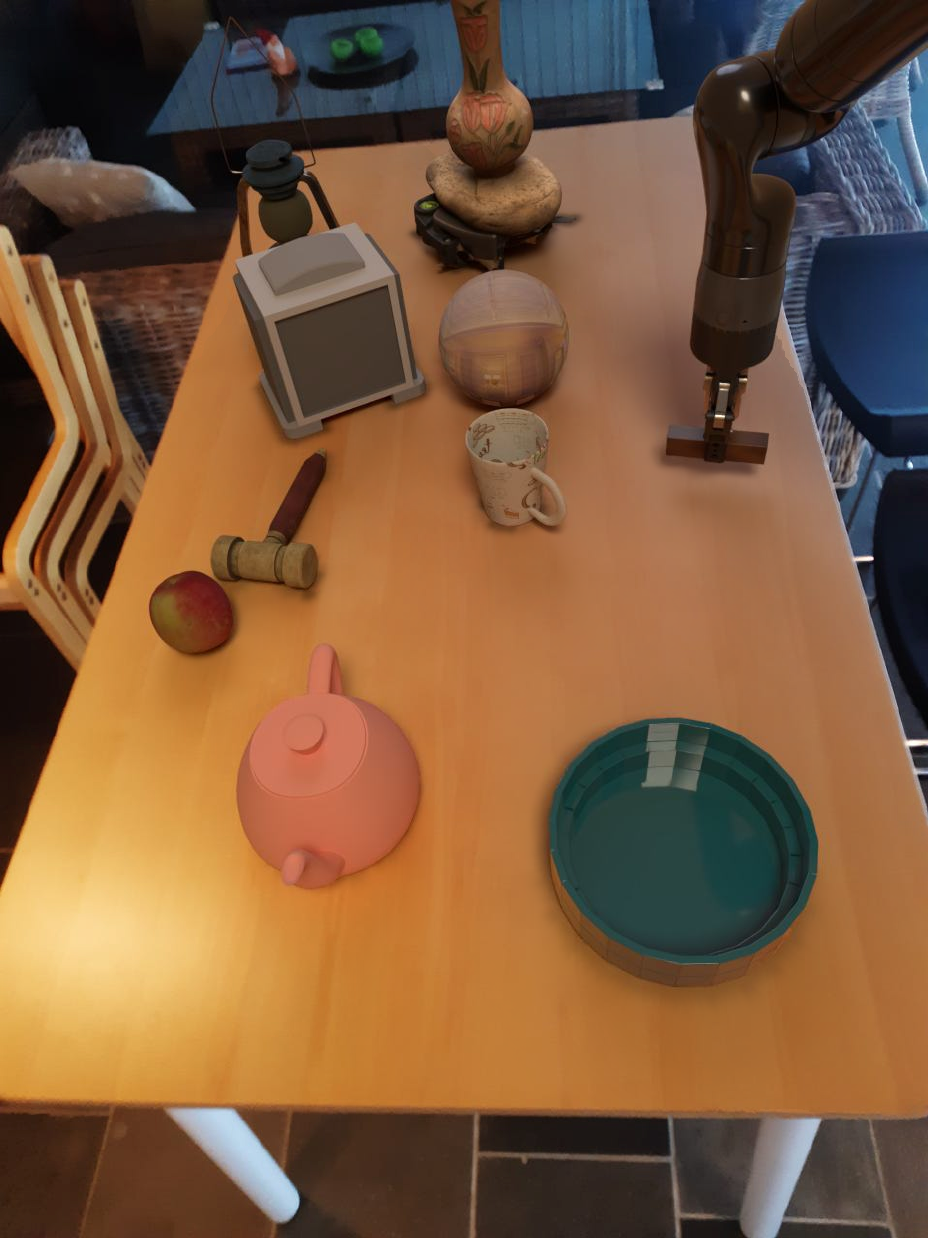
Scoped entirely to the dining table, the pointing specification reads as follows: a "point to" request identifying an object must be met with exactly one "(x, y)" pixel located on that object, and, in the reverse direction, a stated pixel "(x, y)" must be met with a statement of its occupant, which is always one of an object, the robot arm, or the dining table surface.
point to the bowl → (681, 851)
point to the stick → (738, 450)
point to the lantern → (277, 186)
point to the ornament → (503, 338)
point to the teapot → (326, 782)
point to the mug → (512, 466)
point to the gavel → (275, 539)
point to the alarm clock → (327, 327)
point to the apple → (191, 612)
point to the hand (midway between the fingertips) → (715, 450)
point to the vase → (486, 157)
